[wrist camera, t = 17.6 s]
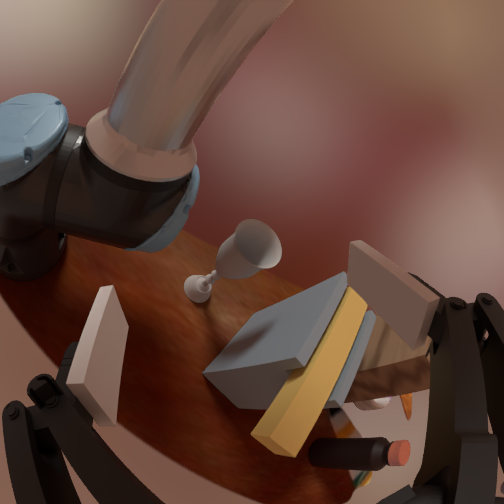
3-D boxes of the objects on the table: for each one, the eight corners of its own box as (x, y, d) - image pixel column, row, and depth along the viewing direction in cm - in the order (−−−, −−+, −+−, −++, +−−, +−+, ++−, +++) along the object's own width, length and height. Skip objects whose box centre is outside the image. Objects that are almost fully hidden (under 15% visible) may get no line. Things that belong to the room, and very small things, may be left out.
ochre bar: (250, 434, 23) (269, 437, 21) (337, 292, 40) (353, 285, 37) (275, 453, 23) (295, 457, 21) (351, 311, 40) (367, 305, 38)
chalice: (209, 268, 51) (270, 219, 38) (220, 303, 49) (288, 264, 37) (173, 272, 46) (227, 219, 34) (184, 311, 45) (245, 271, 32)
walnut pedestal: (288, 382, 50) (425, 354, 30) (316, 334, 60) (431, 292, 40) (310, 405, 50) (441, 385, 31) (335, 357, 60) (447, 323, 40)
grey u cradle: (201, 373, 41) (295, 357, 26) (254, 313, 53) (344, 271, 37) (238, 408, 42) (341, 407, 27) (283, 346, 53) (376, 317, 38)
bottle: (331, 438, 49) (414, 434, 35) (326, 466, 45) (410, 468, 31) (311, 436, 47) (398, 434, 33) (305, 466, 43) (393, 472, 29)
